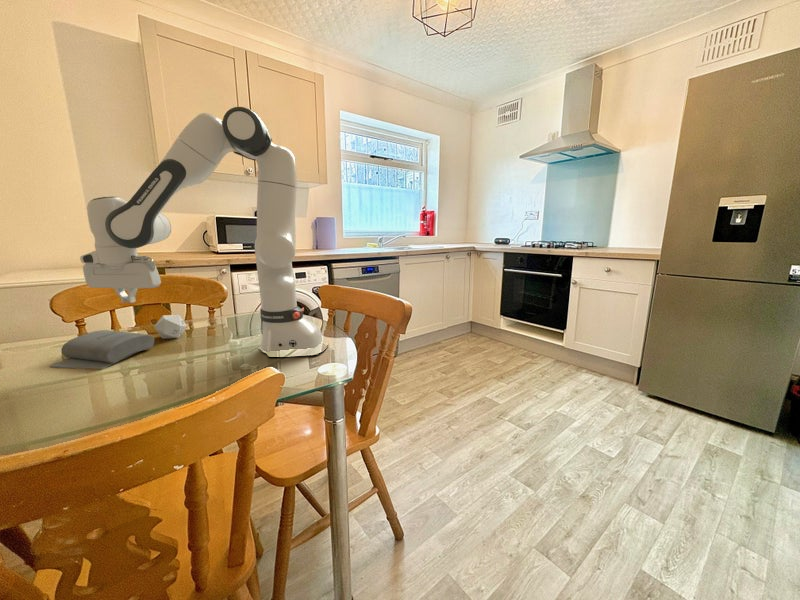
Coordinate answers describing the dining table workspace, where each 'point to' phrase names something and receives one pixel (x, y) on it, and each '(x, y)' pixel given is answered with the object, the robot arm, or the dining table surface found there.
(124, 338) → the grey flat lettered container
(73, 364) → the mat
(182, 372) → the dining table surface
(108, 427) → the dining table surface
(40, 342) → the dining table surface
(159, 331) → the die
